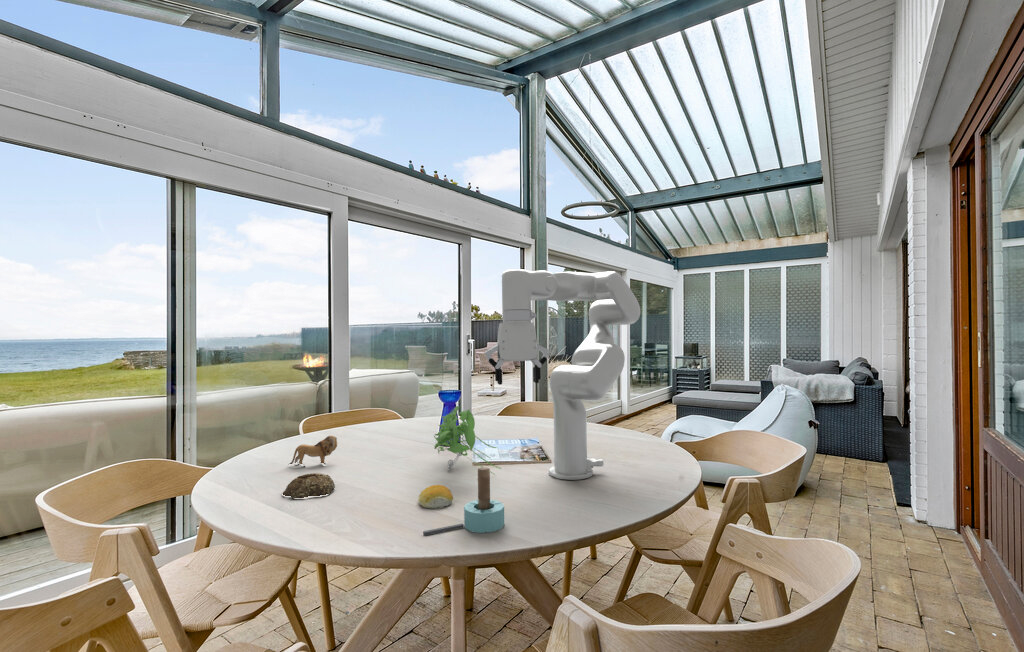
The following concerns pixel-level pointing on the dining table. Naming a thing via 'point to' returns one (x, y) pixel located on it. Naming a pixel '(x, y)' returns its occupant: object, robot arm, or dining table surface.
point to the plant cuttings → (455, 431)
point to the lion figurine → (316, 449)
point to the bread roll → (435, 496)
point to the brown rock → (309, 486)
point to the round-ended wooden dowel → (483, 488)
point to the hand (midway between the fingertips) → (518, 383)
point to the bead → (484, 517)
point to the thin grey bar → (443, 529)
